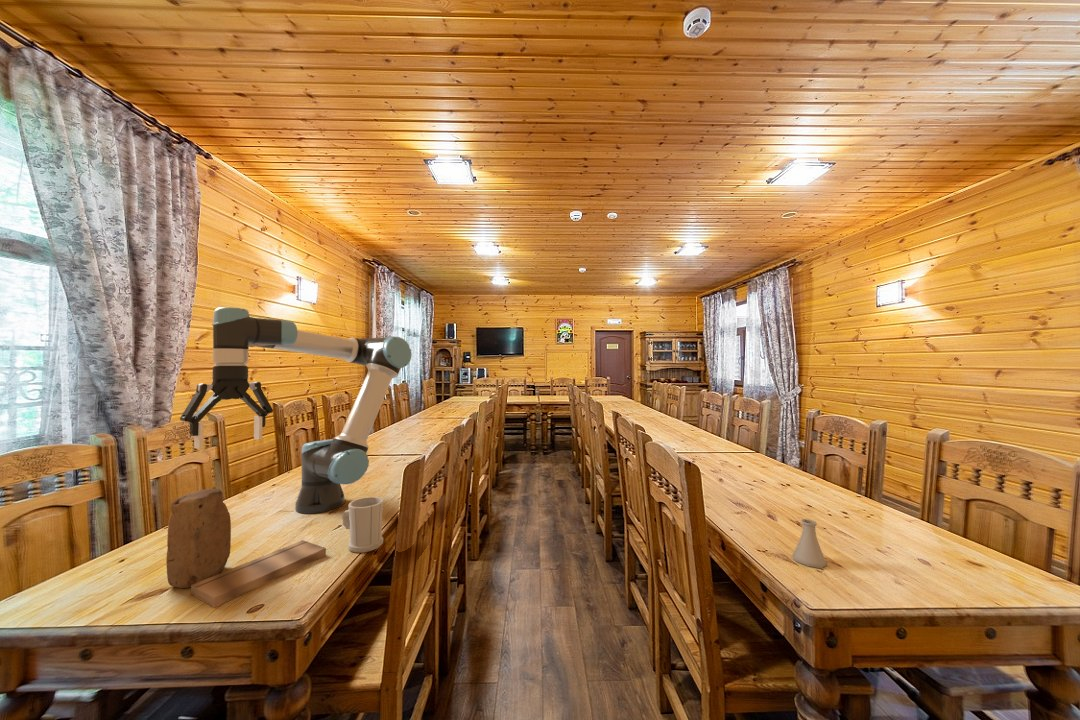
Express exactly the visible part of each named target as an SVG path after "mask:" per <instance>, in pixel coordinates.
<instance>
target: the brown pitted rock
mask: <svg viewBox="0 0 1080 720" xmlns="http://www.w3.org/2000/svg"><path fill="white" fill-rule="evenodd" d="M223 494H224V493H223V491H222V490H221V489H218V488H207V489H206V488H203V489H202V488H201V489H199V490H196V491H194V492H189V493H186V494H184V495H181V496H179V497H177V498H175V499H173V500H172V502H171V503H170V505H169V507H170V508H169V509H170V511H171V513H170V515H169V518H168V524H167V525H168V526H167V539H166V540H167V545H166V546H167V549H166V561H165V562H166V577H167V582H168V584H169V586H172V587H174V588H179V589H186V588H191V585H193V584H195V583H198V582H200V581H203V580H205V579H208V578H210V577H213V576H215V575H218V574H220V573H222V571H223V570H224V568H225V566H226V564H227V563H228V559H229V558H230V555H231V546H232V545H231V541H232V540H231V539H232V534H231V533H232V523H231V522H232V520H231V514H230V511H229V509H228V507H227V505H226V503H225V502H224V500H223V498H224V497H223Z"/></svg>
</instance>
